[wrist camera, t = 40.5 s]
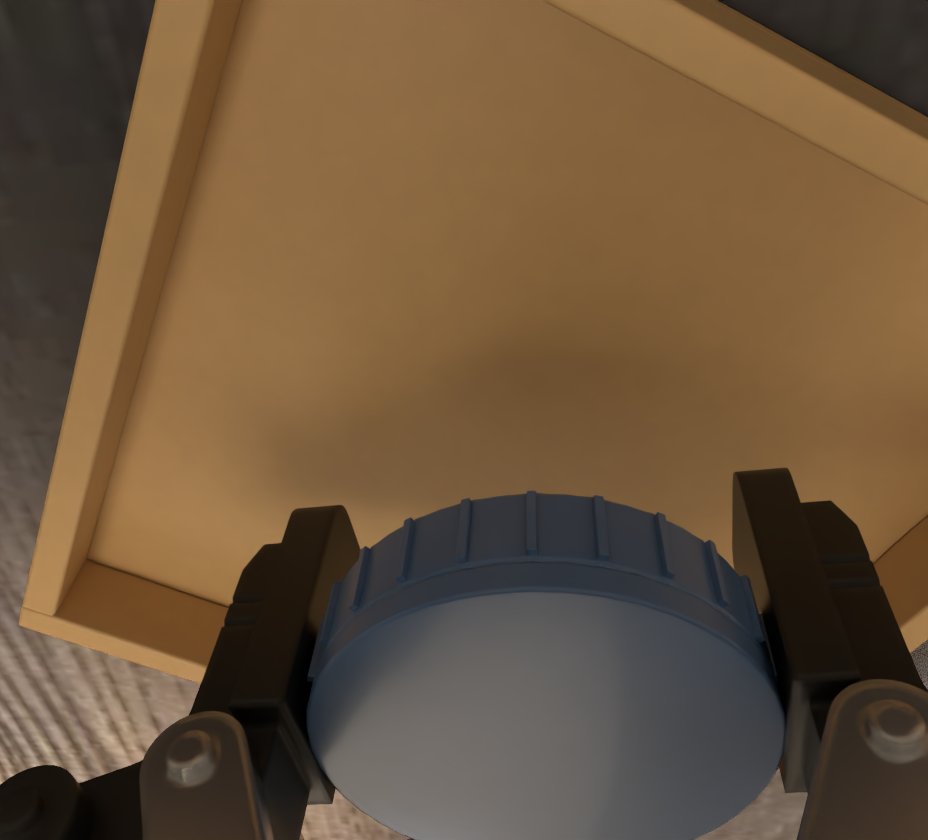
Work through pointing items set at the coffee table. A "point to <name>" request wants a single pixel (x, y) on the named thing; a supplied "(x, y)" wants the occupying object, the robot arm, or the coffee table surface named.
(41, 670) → the coffee table surface
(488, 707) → the jar lid
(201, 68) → the tray
